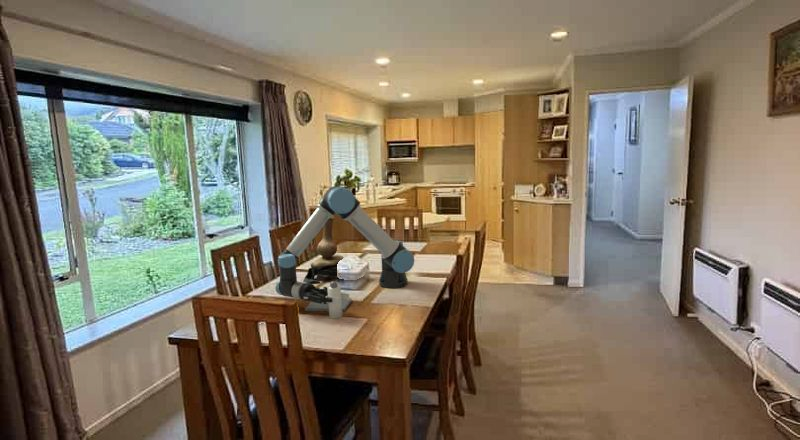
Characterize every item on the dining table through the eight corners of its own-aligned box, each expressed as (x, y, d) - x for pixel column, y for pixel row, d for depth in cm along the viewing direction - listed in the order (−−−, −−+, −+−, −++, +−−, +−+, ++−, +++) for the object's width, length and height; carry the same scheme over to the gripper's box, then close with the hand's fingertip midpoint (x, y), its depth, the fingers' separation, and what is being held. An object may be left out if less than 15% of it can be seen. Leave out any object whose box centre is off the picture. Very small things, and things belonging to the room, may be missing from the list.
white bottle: (343, 314, 184) (341, 279, 182) (340, 318, 179) (338, 283, 176) (331, 313, 185) (329, 279, 183) (327, 318, 179) (325, 283, 177)
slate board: (351, 300, 201) (351, 298, 201) (344, 311, 187) (343, 308, 187) (315, 300, 204) (315, 298, 203) (304, 310, 190) (304, 308, 190)
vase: (341, 282, 231) (338, 219, 226) (301, 284, 232) (296, 220, 227) (347, 271, 255) (344, 213, 250) (310, 272, 255) (306, 215, 250)
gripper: (319, 293, 199) (358, 300, 186) (289, 305, 183) (329, 314, 171) (318, 278, 197) (357, 284, 185) (287, 289, 182) (328, 296, 170)
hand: (343, 298), depth 178 cm, fingers closed on white bottle, 6 cm apart
